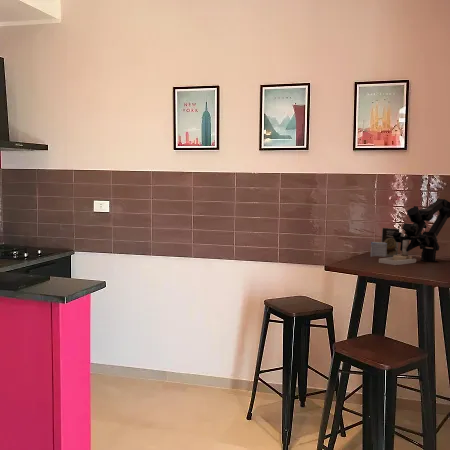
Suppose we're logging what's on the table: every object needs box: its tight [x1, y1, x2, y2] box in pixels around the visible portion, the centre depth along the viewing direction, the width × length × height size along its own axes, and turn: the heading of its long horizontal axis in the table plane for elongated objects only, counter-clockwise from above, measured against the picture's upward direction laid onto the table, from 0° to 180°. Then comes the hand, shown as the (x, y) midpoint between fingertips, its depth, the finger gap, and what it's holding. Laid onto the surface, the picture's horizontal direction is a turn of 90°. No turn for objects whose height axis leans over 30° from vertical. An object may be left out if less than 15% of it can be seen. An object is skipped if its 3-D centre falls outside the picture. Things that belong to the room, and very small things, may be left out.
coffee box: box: [380, 227, 400, 258], centre depth 299 cm, size 9×6×16 cm
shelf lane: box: [378, 257, 417, 266], centre depth 267 cm, size 19×10×3 cm, turn 130°
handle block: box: [393, 240, 413, 261], centre depth 269 cm, size 7×6×11 cm
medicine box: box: [369, 241, 387, 258], centre depth 291 cm, size 8×4×9 cm, turn 84°
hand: (403, 250), depth 270 cm, fingers closed on handle block, 3 cm apart
